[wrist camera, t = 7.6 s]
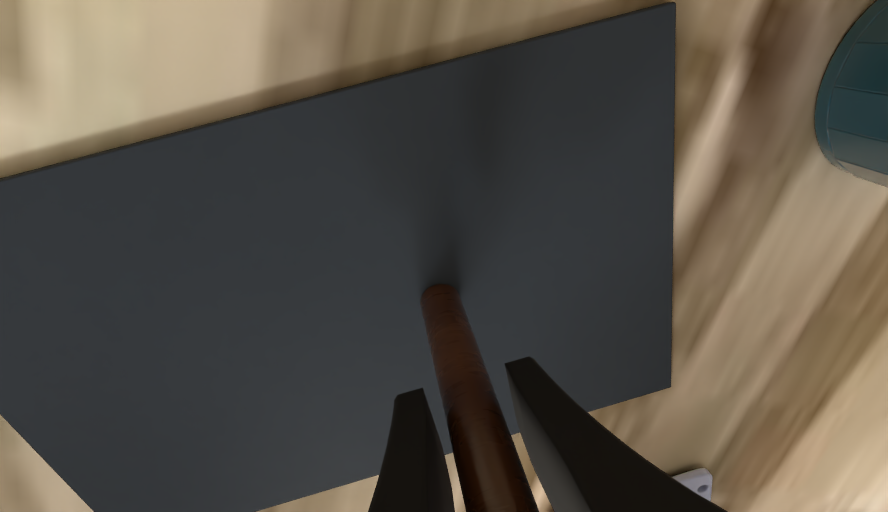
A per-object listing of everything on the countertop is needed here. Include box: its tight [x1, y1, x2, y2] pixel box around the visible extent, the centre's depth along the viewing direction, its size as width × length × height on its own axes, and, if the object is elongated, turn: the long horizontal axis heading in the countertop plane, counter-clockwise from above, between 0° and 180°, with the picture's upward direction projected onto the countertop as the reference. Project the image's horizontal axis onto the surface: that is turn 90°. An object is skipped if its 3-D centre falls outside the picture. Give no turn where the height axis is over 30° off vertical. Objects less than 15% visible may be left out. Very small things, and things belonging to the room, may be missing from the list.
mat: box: [0, 2, 676, 512], centre depth 15 cm, size 14×22×1 cm, turn 103°
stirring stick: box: [420, 284, 539, 512], centre depth 11 cm, size 1×1×9 cm
